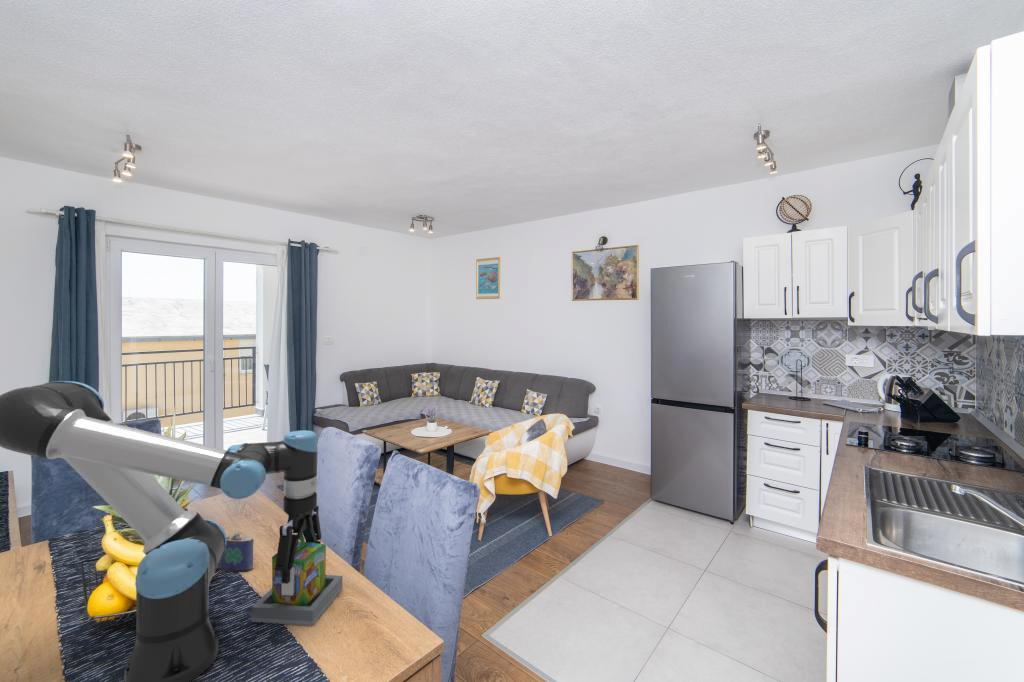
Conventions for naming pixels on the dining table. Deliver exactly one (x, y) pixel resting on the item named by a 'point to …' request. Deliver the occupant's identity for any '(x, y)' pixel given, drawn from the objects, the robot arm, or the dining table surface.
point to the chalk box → (302, 574)
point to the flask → (238, 554)
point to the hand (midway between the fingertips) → (299, 582)
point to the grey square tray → (297, 614)
